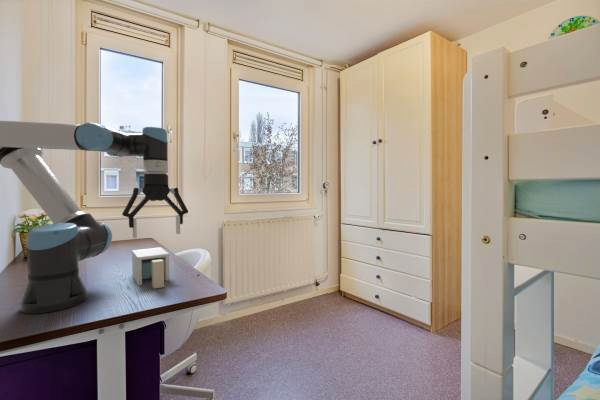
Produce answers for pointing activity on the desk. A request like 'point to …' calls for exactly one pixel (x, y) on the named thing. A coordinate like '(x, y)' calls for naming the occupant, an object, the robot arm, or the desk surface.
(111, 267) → the desk surface
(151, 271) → the tethered block
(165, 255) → the white open box
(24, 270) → the desk surface
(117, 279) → the desk surface
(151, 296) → the desk surface
